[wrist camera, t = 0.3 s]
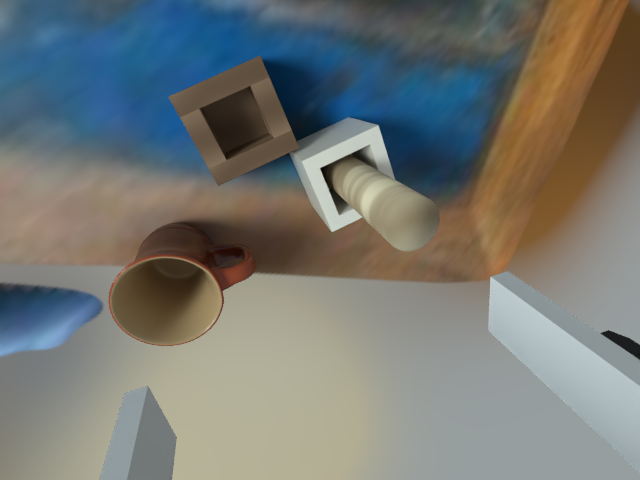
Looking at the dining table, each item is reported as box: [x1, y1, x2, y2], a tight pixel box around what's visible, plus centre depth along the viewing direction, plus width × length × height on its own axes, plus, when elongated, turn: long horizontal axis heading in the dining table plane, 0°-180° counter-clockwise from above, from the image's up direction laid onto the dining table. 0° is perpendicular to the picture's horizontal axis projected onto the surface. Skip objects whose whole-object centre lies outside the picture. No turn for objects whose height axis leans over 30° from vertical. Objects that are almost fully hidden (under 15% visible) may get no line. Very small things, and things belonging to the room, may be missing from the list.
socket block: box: [169, 56, 299, 186], centre depth 33 cm, size 8×8×5 cm
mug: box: [109, 223, 256, 346], centre depth 35 cm, size 12×9×10 cm
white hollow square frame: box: [289, 117, 395, 232], centre depth 36 cm, size 7×7×8 cm
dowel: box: [320, 154, 440, 251], centre depth 30 cm, size 4×4×18 cm
